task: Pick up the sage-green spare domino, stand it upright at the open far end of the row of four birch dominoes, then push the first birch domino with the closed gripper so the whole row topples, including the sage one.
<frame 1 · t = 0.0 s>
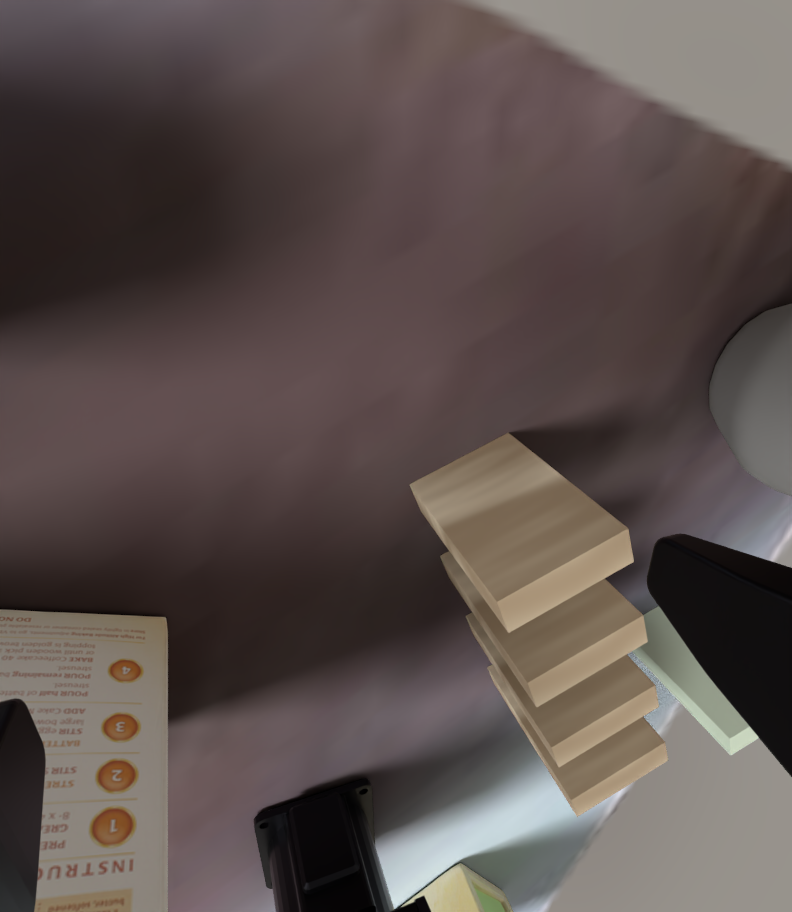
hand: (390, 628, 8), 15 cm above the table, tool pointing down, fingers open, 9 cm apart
domino 2: (510, 602, 31), on the table
domino 4: (464, 472, 26), on the table
toy refrigerator: (450, 896, 42), on the table
domino 5: (657, 615, 36), on the table
domino 3: (489, 542, 28), on the table
cup: (750, 368, 29), on the table
domino 1: (528, 653, 33), on the table
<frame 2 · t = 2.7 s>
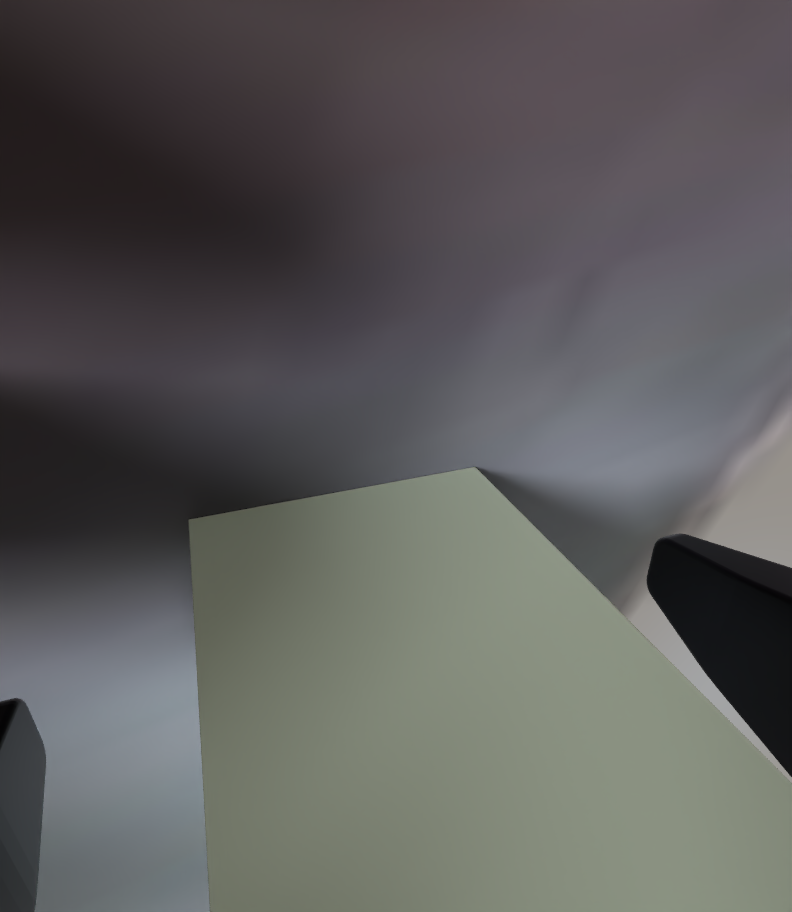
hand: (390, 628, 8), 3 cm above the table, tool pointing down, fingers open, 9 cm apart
domino 5: (344, 530, 10), on the table
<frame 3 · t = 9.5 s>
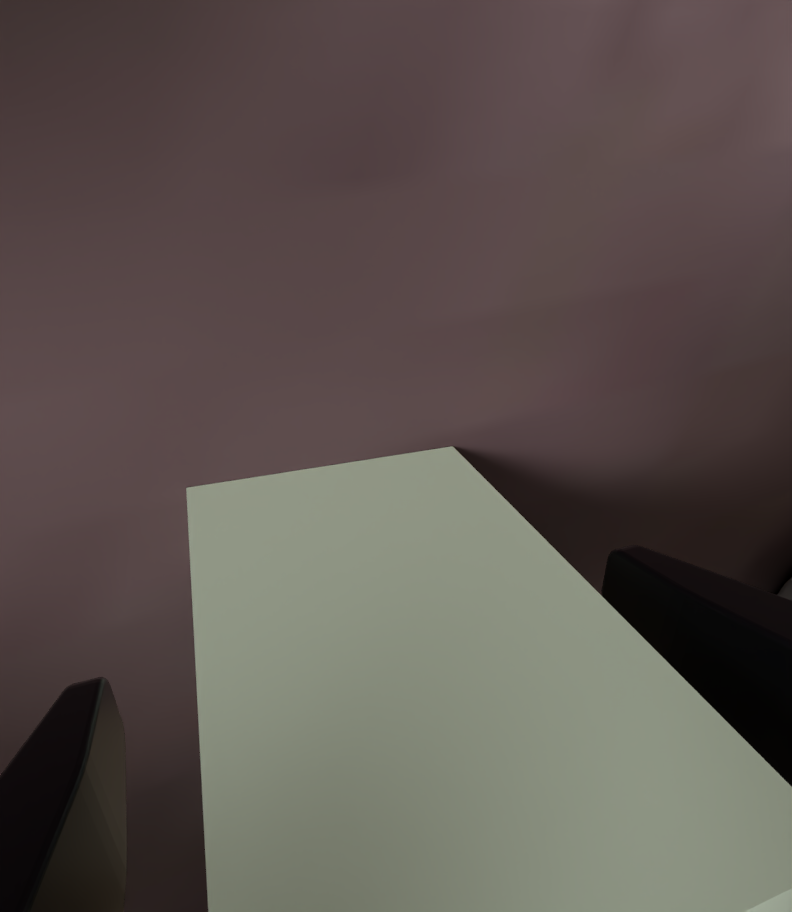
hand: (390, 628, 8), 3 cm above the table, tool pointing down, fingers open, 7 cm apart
domino 5: (330, 502, 11), on the table
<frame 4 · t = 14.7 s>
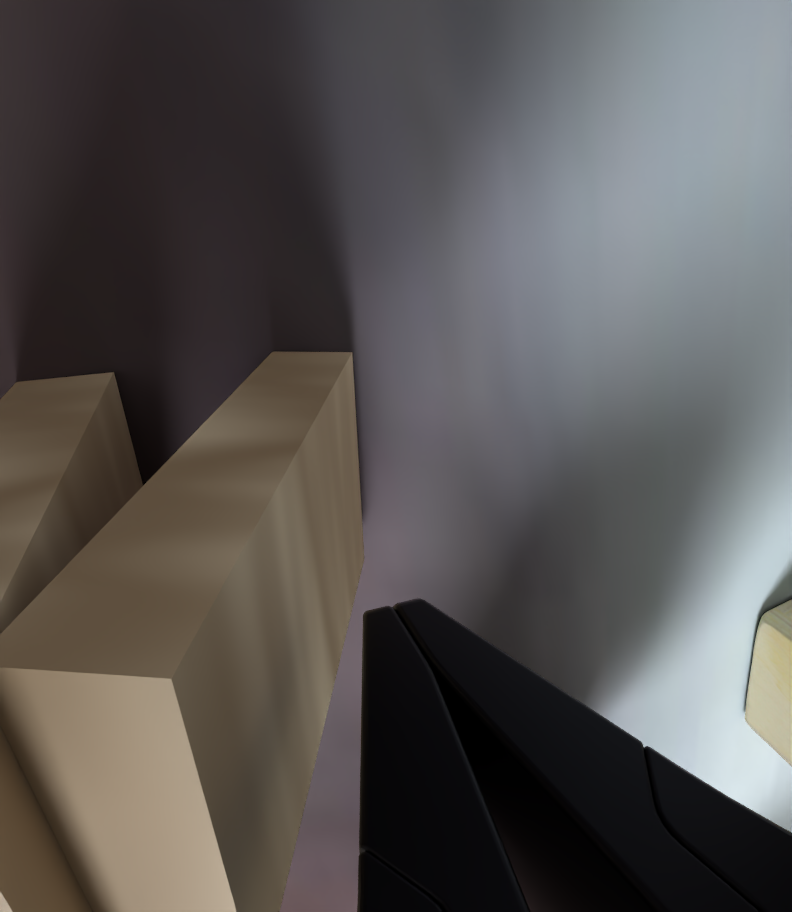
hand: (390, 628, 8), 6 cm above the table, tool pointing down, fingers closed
domino 2: (101, 496, 12), on the table
domino 1: (322, 463, 13), on the table, tilted 25°
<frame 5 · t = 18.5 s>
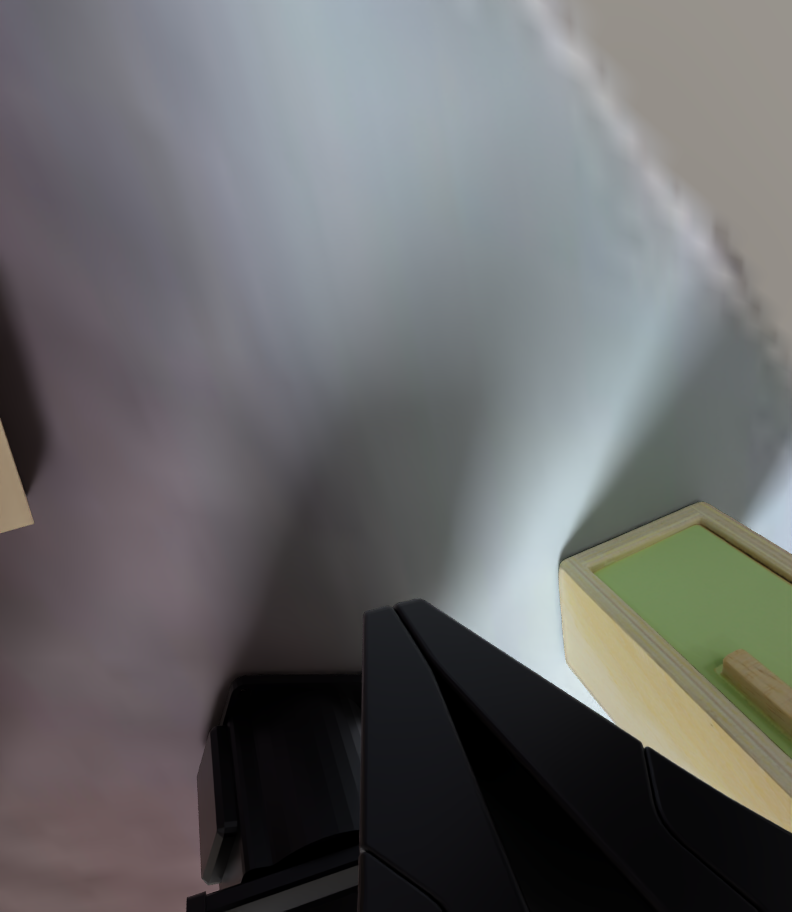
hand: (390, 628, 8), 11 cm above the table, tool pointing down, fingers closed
toy refrigerator: (629, 572, 27), on the table
domino 1: (2, 426, 15), point 1 cm above the table, tilted 73°, touching domino 2
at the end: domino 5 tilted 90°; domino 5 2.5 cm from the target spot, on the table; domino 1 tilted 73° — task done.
